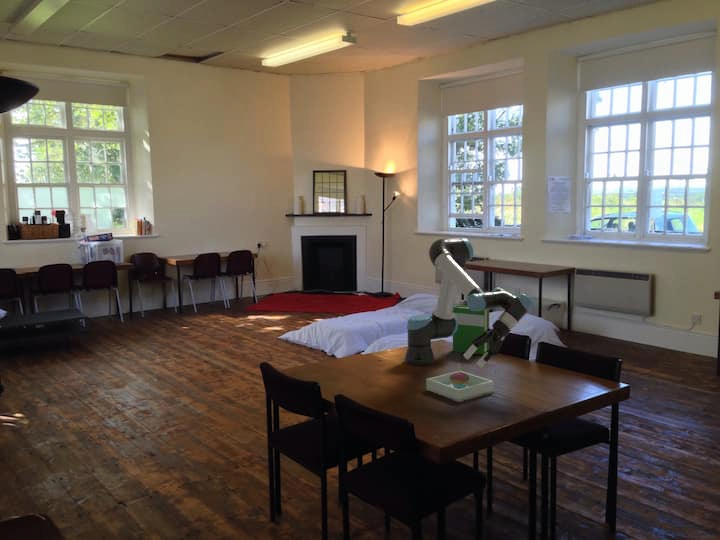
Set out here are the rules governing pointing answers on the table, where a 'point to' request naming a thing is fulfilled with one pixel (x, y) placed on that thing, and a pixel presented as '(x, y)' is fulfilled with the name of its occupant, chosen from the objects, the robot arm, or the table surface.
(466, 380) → the cupcake
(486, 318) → the hardback book
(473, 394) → the box
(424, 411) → the table surface
